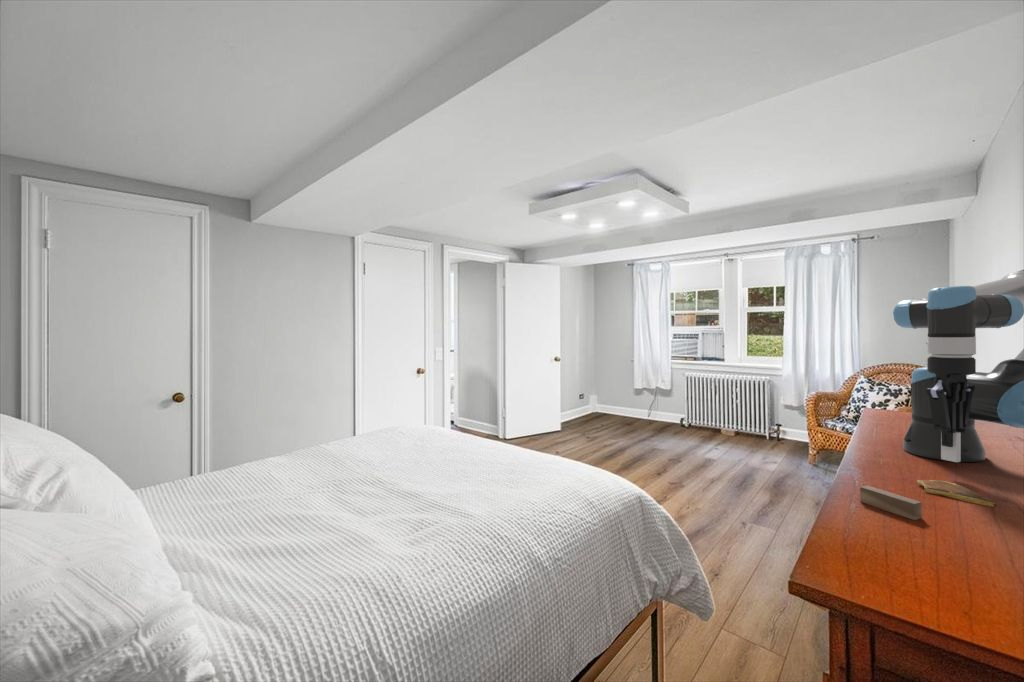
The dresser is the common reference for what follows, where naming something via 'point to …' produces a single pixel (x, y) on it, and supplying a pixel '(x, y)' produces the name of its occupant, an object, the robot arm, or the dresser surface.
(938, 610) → the dresser surface
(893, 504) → the walnut rail
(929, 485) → the shard
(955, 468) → the dresser surface
